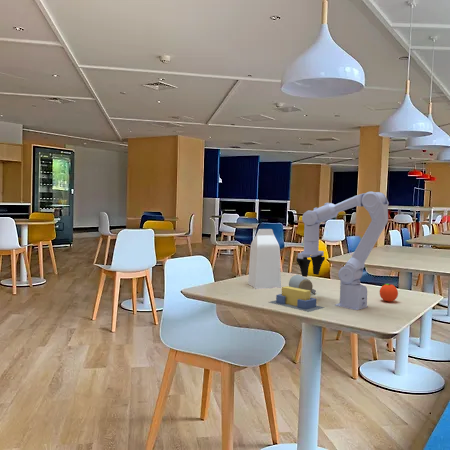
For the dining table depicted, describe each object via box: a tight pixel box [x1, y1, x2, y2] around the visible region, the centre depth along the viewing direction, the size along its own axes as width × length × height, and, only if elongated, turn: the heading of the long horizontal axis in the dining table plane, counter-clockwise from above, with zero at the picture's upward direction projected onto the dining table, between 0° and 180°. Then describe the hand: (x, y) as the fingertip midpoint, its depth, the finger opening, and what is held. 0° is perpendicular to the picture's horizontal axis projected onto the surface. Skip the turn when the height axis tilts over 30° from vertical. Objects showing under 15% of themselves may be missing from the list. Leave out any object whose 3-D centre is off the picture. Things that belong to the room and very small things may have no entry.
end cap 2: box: [297, 297, 317, 310], centre depth 168 cm, size 4×6×3 cm, turn 134°
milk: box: [247, 228, 282, 290], centre depth 208 cm, size 12×12×26 cm
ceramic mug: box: [288, 274, 317, 295], centre depth 193 cm, size 11×8×8 cm
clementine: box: [379, 283, 399, 303], centre depth 182 cm, size 8×7×7 cm
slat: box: [281, 285, 312, 306], centre depth 172 cm, size 11×3×6 cm, turn 44°
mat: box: [268, 300, 325, 313], centre depth 172 cm, size 19×10×1 cm, turn 44°
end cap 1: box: [275, 293, 286, 304], centre depth 175 cm, size 4×6×3 cm, turn 134°
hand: (310, 275), depth 181 cm, fingers open, 7 cm apart
